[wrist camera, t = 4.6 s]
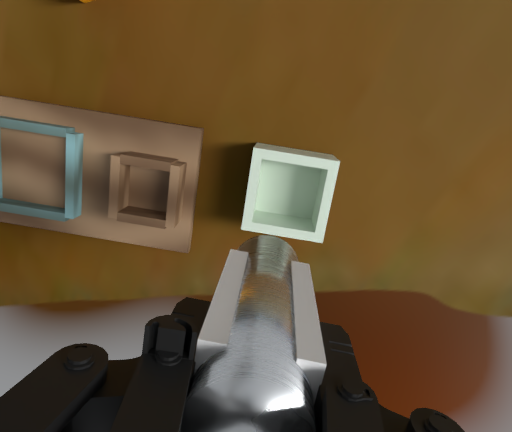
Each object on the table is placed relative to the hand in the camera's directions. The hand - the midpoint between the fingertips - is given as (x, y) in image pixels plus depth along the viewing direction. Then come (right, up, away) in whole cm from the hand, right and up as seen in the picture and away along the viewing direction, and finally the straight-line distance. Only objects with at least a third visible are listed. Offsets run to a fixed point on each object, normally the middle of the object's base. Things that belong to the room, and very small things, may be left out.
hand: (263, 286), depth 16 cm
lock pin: (0, +1, +2) cm, 2 cm away
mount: (-16, +7, +21) cm, 27 cm away
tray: (+3, +6, +20) cm, 21 cm away
